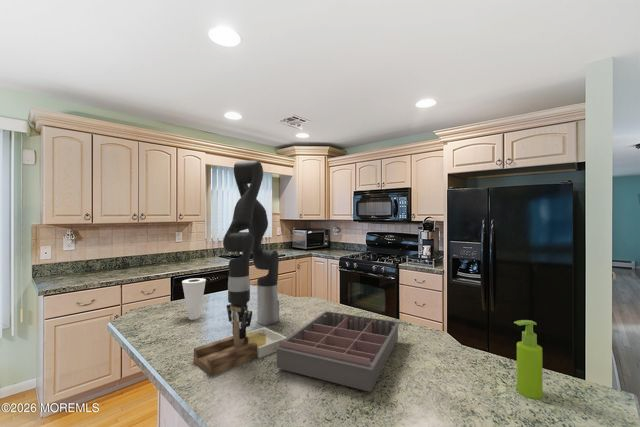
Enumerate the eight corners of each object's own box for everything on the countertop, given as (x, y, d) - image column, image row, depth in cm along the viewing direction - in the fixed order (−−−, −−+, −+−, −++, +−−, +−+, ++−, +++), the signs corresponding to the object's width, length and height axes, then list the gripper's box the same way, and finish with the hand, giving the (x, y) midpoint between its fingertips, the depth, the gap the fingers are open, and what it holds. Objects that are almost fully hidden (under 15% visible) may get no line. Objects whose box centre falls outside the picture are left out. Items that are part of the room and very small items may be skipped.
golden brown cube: (259, 342, 116) (259, 332, 116) (265, 345, 113) (266, 334, 113) (250, 345, 113) (250, 334, 113) (256, 348, 110) (257, 337, 110)
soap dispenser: (508, 387, 87) (508, 317, 87) (531, 386, 87) (530, 317, 87) (523, 399, 81) (523, 325, 81) (548, 398, 82) (547, 324, 82)
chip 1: (250, 342, 113) (251, 331, 113) (257, 345, 110) (257, 334, 110) (241, 345, 110) (241, 334, 110) (247, 348, 107) (248, 337, 107)
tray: (264, 335, 124) (264, 327, 124) (287, 346, 114) (287, 337, 114) (236, 345, 115) (236, 335, 115) (259, 358, 105) (259, 348, 105)
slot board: (238, 345, 114) (238, 333, 114) (257, 357, 105) (257, 344, 105) (193, 361, 102) (193, 348, 102) (210, 375, 93) (210, 361, 93)
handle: (240, 352, 104) (240, 308, 104) (227, 348, 107) (227, 305, 107) (250, 347, 108) (250, 305, 108) (237, 343, 111) (237, 302, 111)
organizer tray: (400, 342, 118) (400, 316, 118) (372, 399, 82) (372, 362, 82) (325, 329, 131) (325, 306, 131) (273, 372, 95) (273, 341, 95)
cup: (210, 316, 147) (210, 279, 147) (190, 323, 138) (190, 284, 138) (196, 313, 152) (196, 277, 152) (177, 319, 143) (177, 281, 143)
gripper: (259, 289, 105) (259, 339, 105) (238, 283, 115) (238, 328, 115) (240, 293, 100) (240, 345, 100) (219, 286, 110) (219, 333, 110)
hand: (239, 336), depth 107 cm, fingers closed on handle, 4 cm apart
